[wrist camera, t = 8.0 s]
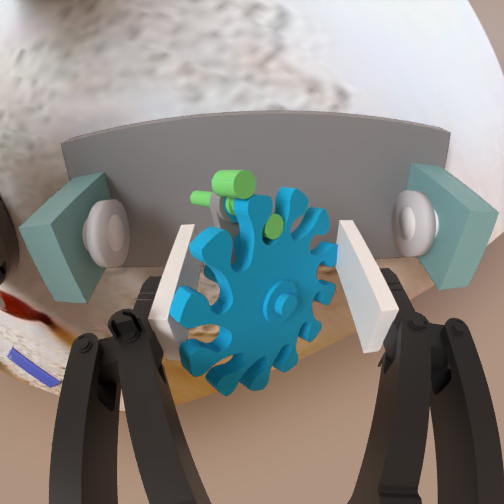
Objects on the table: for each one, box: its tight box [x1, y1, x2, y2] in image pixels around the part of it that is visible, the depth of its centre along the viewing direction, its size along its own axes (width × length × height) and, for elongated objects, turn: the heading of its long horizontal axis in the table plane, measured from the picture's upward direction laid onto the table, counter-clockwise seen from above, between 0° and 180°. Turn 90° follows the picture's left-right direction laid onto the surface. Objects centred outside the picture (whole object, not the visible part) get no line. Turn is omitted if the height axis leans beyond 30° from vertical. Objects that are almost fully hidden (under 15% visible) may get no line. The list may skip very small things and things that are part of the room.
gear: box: [169, 170, 338, 396], centre depth 14 cm, size 11×6×10 cm
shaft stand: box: [19, 111, 499, 304], centre depth 18 cm, size 31×12×9 cm, turn 92°
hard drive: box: [7, 345, 61, 388], centre depth 41 cm, size 2×8×12 cm
